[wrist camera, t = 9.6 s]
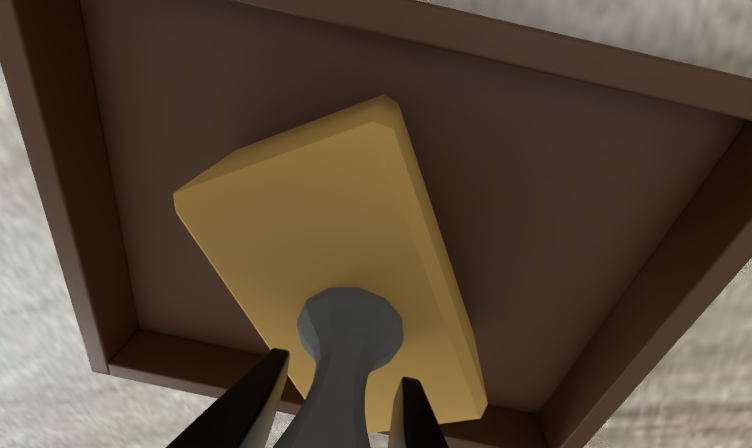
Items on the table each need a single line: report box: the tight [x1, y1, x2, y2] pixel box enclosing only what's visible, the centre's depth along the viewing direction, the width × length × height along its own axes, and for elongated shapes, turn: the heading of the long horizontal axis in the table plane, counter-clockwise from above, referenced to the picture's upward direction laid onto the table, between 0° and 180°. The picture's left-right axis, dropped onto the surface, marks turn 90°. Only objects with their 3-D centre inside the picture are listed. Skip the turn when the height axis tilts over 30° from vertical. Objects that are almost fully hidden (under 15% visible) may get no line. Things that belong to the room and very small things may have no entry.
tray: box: [0, 0, 752, 448], centre depth 13 cm, size 21×16×3 cm
